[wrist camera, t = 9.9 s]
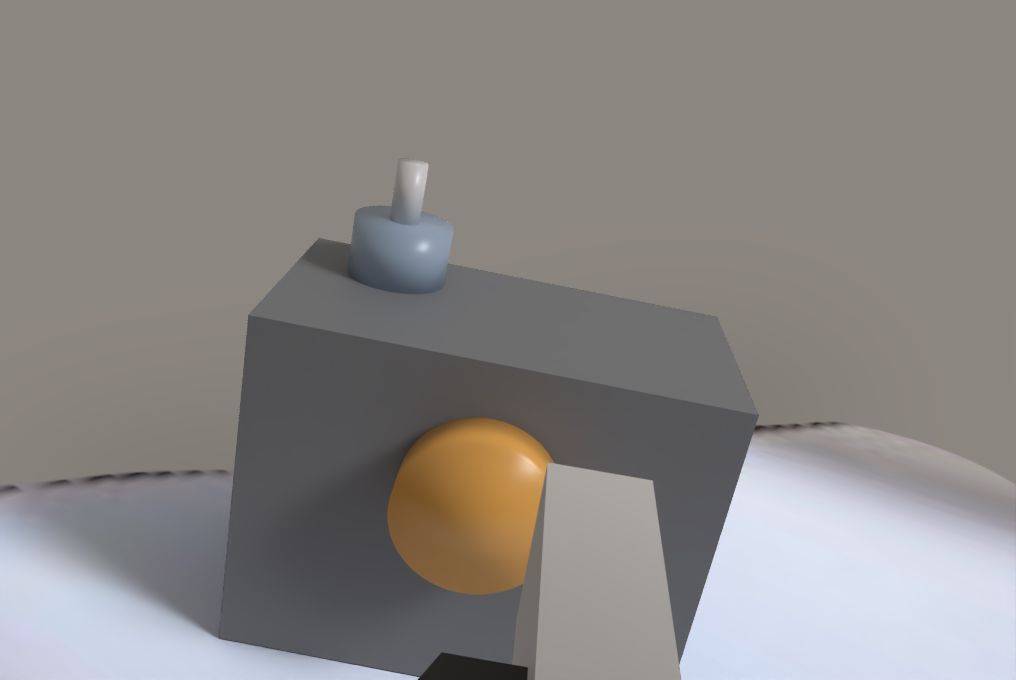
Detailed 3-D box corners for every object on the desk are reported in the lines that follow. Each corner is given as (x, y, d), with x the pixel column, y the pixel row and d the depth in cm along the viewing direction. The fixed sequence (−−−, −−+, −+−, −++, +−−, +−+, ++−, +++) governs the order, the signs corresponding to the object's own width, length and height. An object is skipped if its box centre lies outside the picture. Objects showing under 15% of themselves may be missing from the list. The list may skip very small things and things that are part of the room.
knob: (546, 495, 41) (576, 370, 39) (542, 608, 34) (578, 463, 32) (410, 469, 41) (431, 342, 39) (376, 576, 34) (400, 428, 32)
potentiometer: (449, 271, 41) (467, 162, 40) (438, 301, 38) (457, 183, 36) (358, 253, 41) (373, 143, 40) (338, 281, 38) (353, 162, 36)
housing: (642, 574, 48) (716, 316, 42) (660, 722, 38) (758, 415, 33) (287, 506, 47) (318, 238, 42) (218, 638, 38) (248, 314, 33)
